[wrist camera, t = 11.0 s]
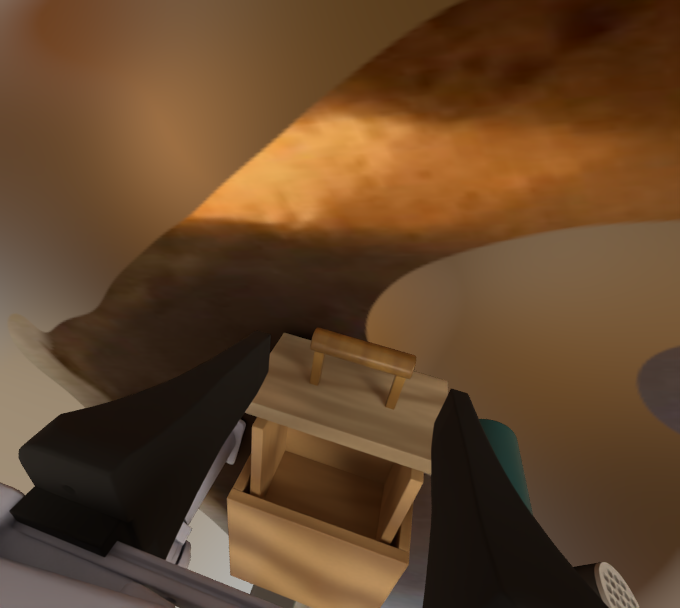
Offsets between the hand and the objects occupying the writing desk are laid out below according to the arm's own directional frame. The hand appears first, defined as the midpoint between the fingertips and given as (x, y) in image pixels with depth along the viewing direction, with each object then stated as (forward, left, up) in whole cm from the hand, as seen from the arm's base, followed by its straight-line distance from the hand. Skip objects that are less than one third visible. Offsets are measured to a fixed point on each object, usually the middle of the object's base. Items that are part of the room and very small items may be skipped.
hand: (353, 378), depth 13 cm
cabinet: (+4, -24, -10) cm, 27 cm away
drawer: (+2, -11, -9) cm, 15 cm away
